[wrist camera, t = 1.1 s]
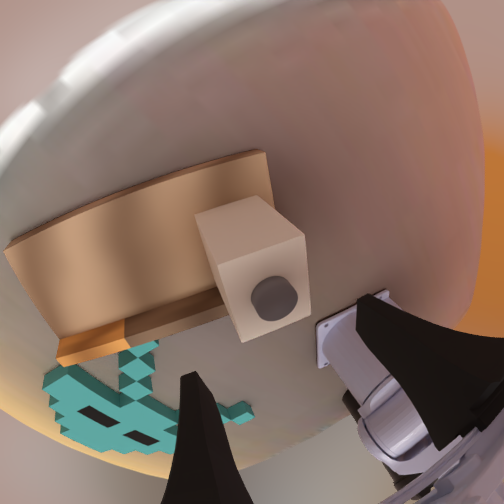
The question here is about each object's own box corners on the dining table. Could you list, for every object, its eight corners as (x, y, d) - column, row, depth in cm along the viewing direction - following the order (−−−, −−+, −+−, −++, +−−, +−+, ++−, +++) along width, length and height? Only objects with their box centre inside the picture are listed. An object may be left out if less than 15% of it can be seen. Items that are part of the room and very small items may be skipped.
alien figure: (139, 310, 21) (17, 390, 20) (140, 329, 19) (14, 406, 18) (249, 403, 32) (134, 453, 31) (255, 417, 30) (136, 465, 29)
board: (256, 148, 17) (279, 157, 14) (276, 263, 22) (297, 288, 19) (11, 241, 14) (-9, 266, 11) (69, 335, 19) (63, 367, 16)
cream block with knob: (257, 194, 17) (313, 242, 12) (269, 261, 20) (318, 323, 14) (194, 214, 16) (221, 275, 11) (214, 280, 19) (246, 353, 14)
